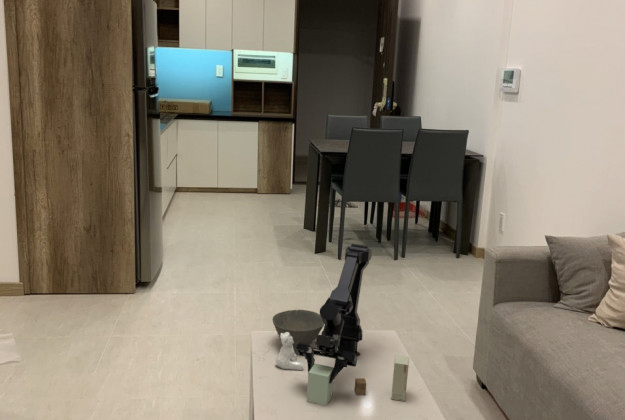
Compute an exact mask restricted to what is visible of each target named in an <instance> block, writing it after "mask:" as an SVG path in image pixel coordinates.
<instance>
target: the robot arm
mask: <svg viewBox="0 0 625 420" xmlns="http://www.w3.org/2000/svg"><path fill="white" fill-rule="evenodd" d="M372 256H373V250H372V249H370V246H369V245H363V244H356V243H351V244H350V246H347V247H345V254H344V264H343V267H342V270H341V273H340V278H339V281H338V283H337V286H336V287H335V288H334V289H333V290H331V293H330V295H329V297H328V298H327V299H326V301H325V302H324V304H323V305H322V306H321V307H320V308H319V314H320V315H321V318H322V320H323V322H324V326H323V328H322V329H323V330H321V332H320V333H321V334H319V335H318V334H317V338H316V339H315V342H314V343H315V344H314V345H315V346H316V347H317V348H316V347H312V346H311V344H309V343H304V342H298V343H297V345H296V348H294V351H295V352H296V354H297V355H298V356H300V357H304V359H305V360H306V363H307V373H308V372H309V371H310V370H311V368H312V367H313V365H314V364H315V361H316V359H315V357H314V356H319V357H323V358H328V359H329V358H330V359H334V364H333V367H334V368H333V371H332V373H331V376H330V381H329V383H330V384H331V383H332V381H333V382H334V380H335V379H336V377H337V376H338V375H339V373H340V372H341V371H342V370H343V369H346V368H348V366H349V367H355V368H356V367H357V363H358V357H357V356H360V355H361V352H359V351H358V345H359V344H358V343H359V342H361V341H363V329H362V326H361V319H360V317H359V313H358V307H359V302H360V301H359V300H360V293H361V288H362V281H363V274H364V270H365V269H366V268H367V267H368V266H369V264H370V261H371V260H372Z"/></svg>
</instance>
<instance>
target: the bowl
mask: <svg viewBox="0 0 625 420" xmlns="http://www.w3.org/2000/svg"><path fill="white" fill-rule="evenodd" d="M272 323H273V325H274V328H275V331H276V333H277V336H278V337H279V338H280V339H281V337H280V335H281V333H283V334H284V333H285V332H288V333H290V336H292V337H293V338H292V339H293V342H294V343H293V344H292V345H293V349H295V348H296V345H297V343H298V342H304V343H309V344H310V345H311V344H312V343H313V342H314V341H316V338H317V334H318V335H320V333H321V332H322V329H324V326H325V324H324V322H323V320H322V318H321V315H320V313H318V312H315V311H313V310H306V309H290V310H285V311H281V312H277V313H276V314H274V315H273V317H272Z"/></svg>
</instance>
